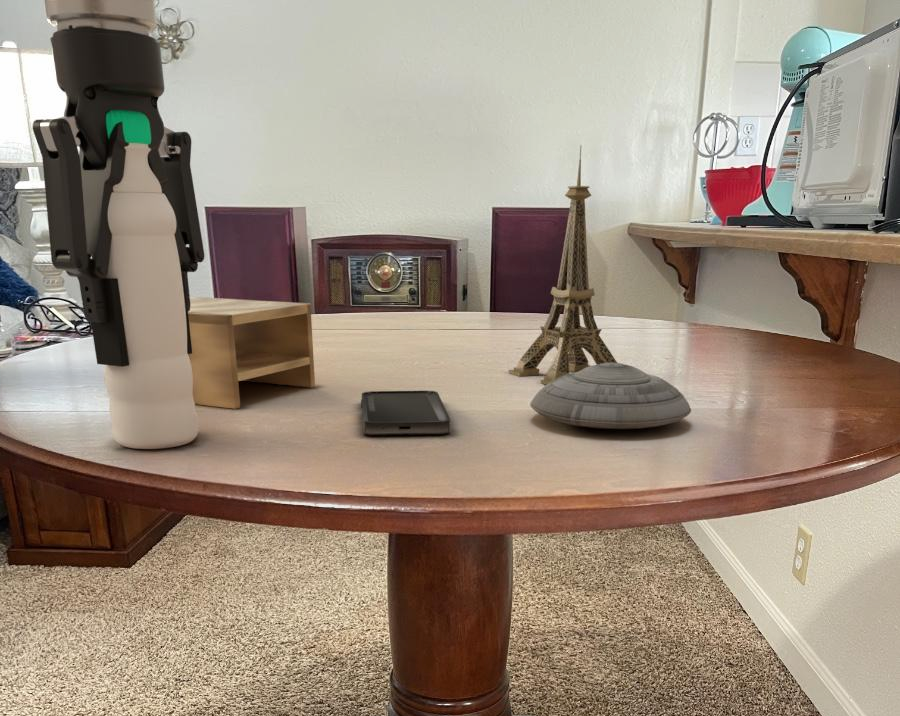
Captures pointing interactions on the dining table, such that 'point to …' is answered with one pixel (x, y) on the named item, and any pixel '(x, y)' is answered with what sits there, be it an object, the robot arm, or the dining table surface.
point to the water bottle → (147, 305)
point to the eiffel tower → (569, 305)
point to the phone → (403, 413)
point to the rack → (248, 347)
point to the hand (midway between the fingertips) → (146, 358)
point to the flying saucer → (611, 399)
